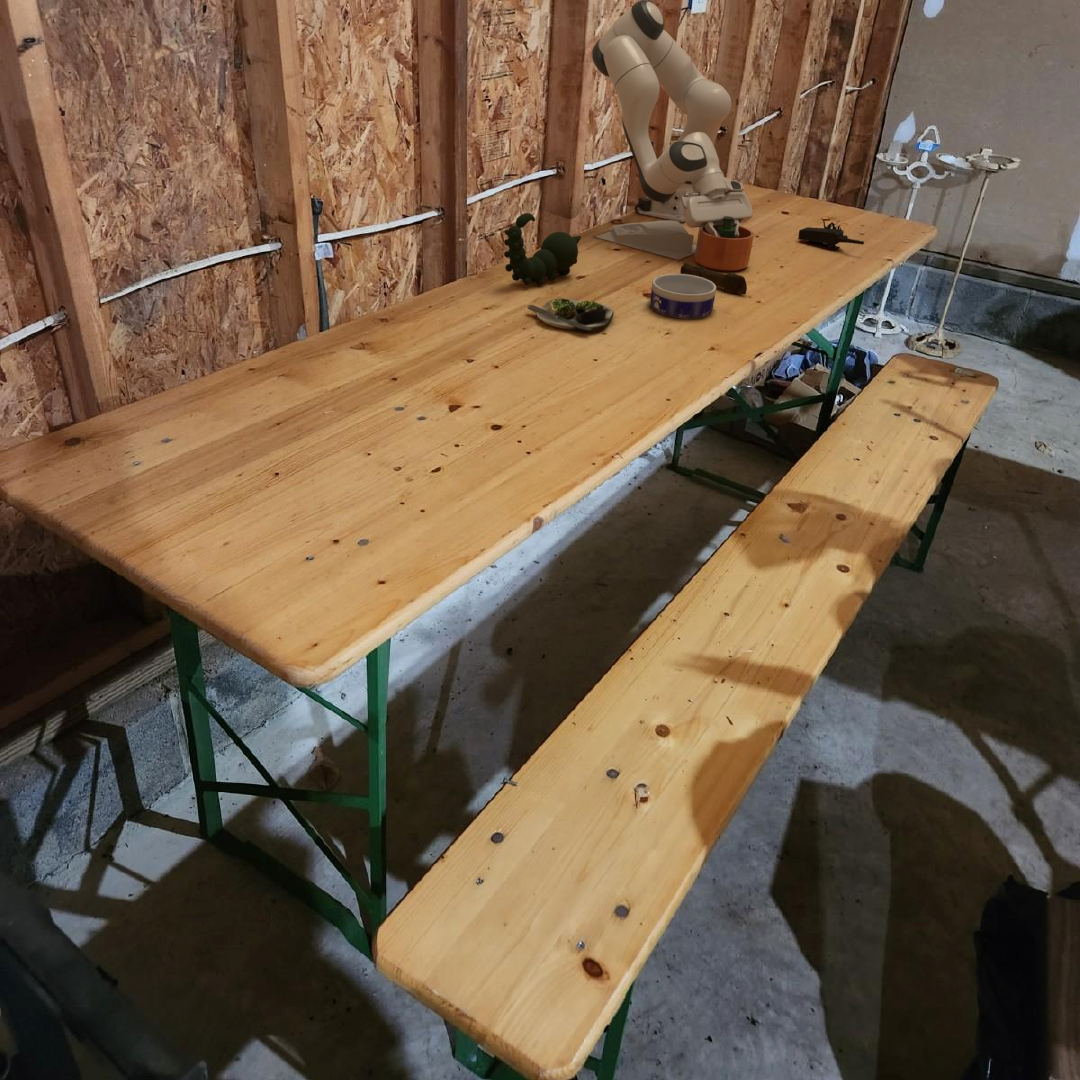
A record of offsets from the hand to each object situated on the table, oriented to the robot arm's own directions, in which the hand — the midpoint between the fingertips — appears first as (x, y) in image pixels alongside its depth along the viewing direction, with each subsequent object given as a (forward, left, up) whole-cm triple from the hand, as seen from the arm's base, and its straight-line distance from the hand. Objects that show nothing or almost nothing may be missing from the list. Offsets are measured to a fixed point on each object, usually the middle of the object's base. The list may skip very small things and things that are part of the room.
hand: (726, 238), depth 250 cm
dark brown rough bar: (+1, -18, -7) cm, 20 cm away
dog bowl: (-4, -38, -7) cm, 39 cm away
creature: (+28, +46, -7) cm, 54 cm away
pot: (0, +1, -7) cm, 7 cm away
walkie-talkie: (+28, +32, -7) cm, 43 cm away
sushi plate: (-25, -57, -7) cm, 63 cm away
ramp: (-22, +11, -7) cm, 26 cm away
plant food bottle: (-1, 0, -6) cm, 6 cm away
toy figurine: (-41, -35, -7) cm, 54 cm away
